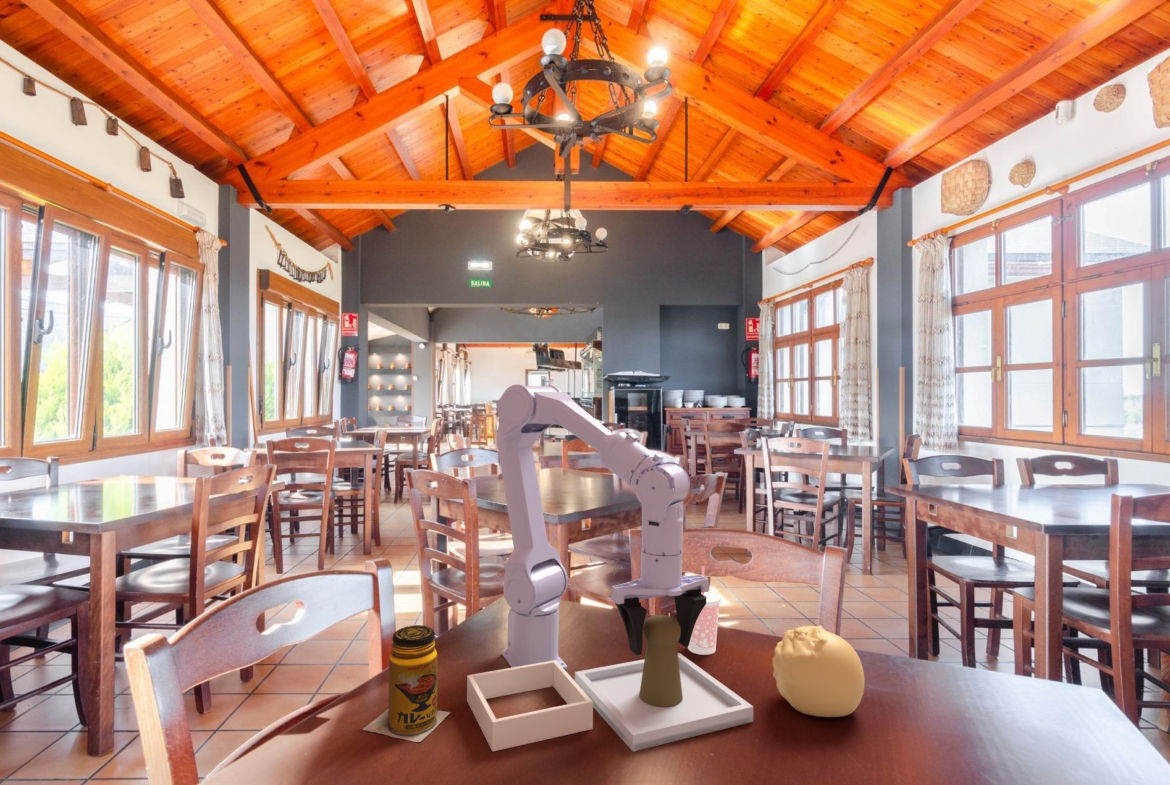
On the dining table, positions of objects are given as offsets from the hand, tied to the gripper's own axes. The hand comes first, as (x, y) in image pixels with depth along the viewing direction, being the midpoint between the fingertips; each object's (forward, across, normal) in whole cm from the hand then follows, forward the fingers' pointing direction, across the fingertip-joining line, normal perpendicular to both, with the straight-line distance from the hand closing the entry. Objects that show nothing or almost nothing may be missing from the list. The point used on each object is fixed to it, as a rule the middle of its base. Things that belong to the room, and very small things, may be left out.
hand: (659, 647), depth 87 cm
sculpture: (+8, +20, -9) cm, 23 cm away
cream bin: (+8, -18, +4) cm, 20 cm away
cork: (+7, 0, 0) cm, 7 cm away
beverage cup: (+8, +16, +13) cm, 22 cm away
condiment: (+8, -33, +8) cm, 35 cm away
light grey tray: (+8, 0, 0) cm, 8 cm away
